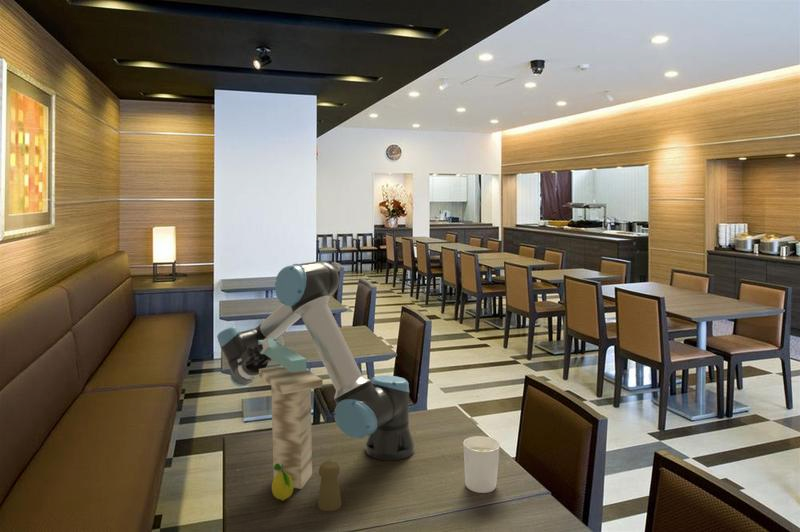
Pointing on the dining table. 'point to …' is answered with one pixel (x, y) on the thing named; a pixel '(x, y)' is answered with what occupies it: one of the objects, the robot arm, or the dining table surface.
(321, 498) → the cork
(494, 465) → the candle holder
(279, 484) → the lemon
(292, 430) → the stand
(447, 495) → the dining table surface
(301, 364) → the bar
